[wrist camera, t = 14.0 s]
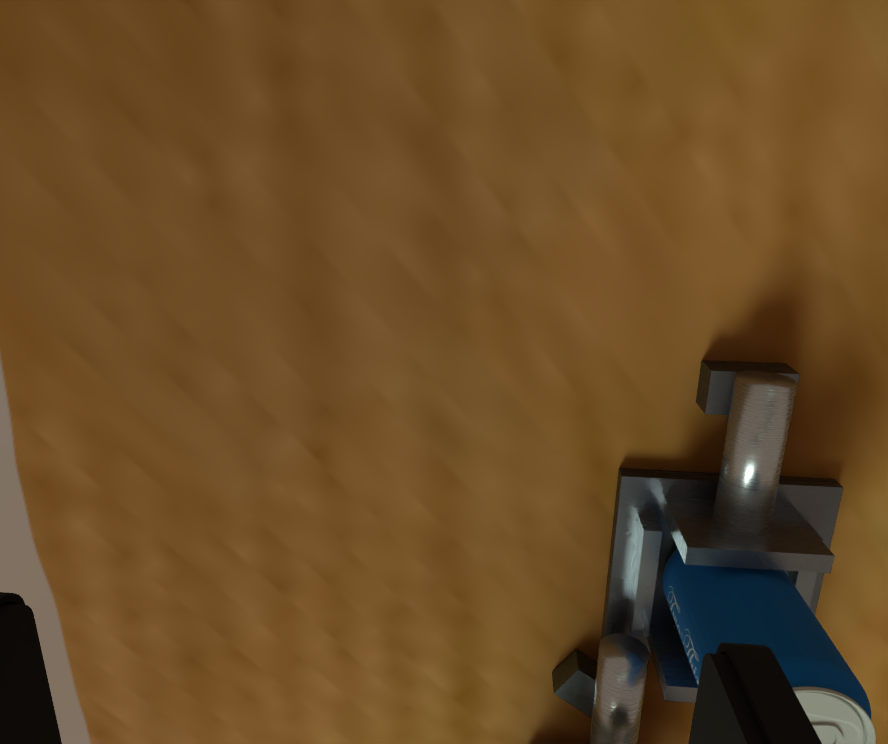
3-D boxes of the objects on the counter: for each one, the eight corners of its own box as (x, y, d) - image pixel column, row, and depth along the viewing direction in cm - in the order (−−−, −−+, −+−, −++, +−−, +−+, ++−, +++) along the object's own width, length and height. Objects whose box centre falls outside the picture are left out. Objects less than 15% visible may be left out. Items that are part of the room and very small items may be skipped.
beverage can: (658, 525, 38) (723, 683, 27) (776, 519, 37) (894, 679, 26) (660, 619, 40) (721, 802, 29) (772, 615, 39) (880, 802, 28)
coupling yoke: (576, 354, 36) (590, 391, 31) (860, 364, 35) (927, 404, 30) (549, 702, 44) (556, 783, 38) (781, 720, 43) (824, 807, 37)
